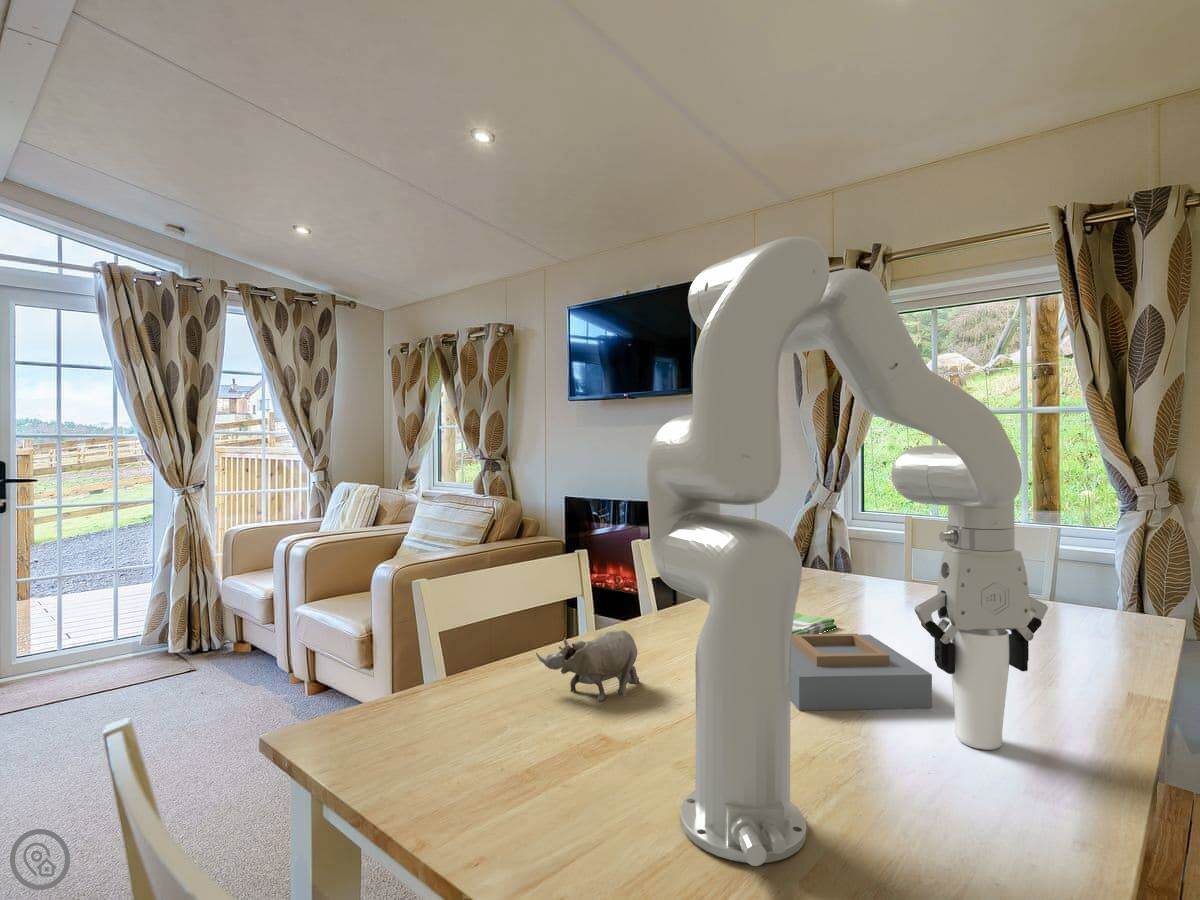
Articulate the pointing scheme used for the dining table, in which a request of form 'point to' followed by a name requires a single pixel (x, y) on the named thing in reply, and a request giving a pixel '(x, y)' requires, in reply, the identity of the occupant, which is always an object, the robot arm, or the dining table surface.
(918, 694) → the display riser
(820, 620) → the dish towel
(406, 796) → the dining table surface
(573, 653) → the rhinoceros figurine
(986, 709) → the white tapered cylinder
